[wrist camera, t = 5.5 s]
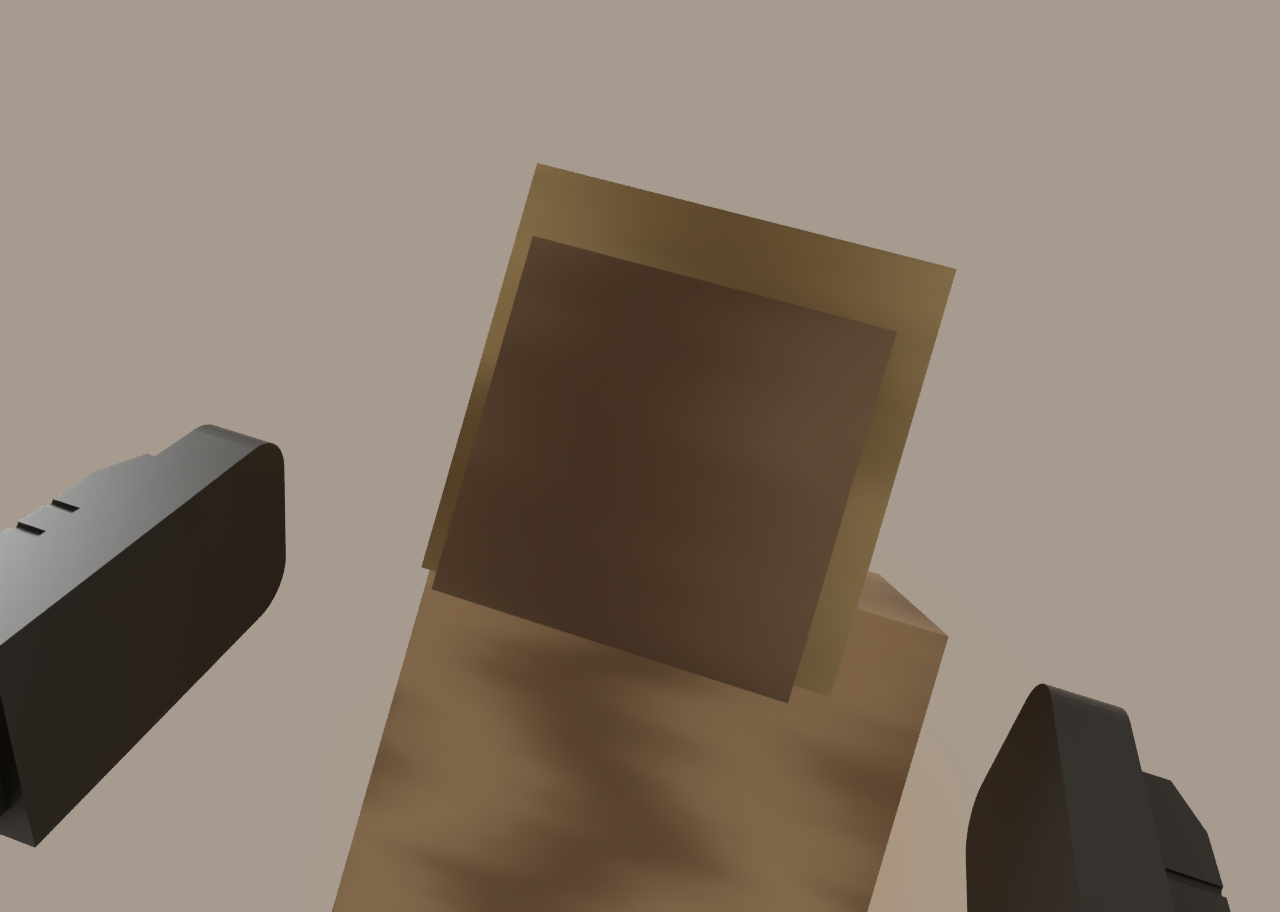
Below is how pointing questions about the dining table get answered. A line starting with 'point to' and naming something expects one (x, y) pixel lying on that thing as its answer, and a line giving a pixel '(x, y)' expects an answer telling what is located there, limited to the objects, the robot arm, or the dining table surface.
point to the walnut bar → (685, 432)
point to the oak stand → (633, 773)
